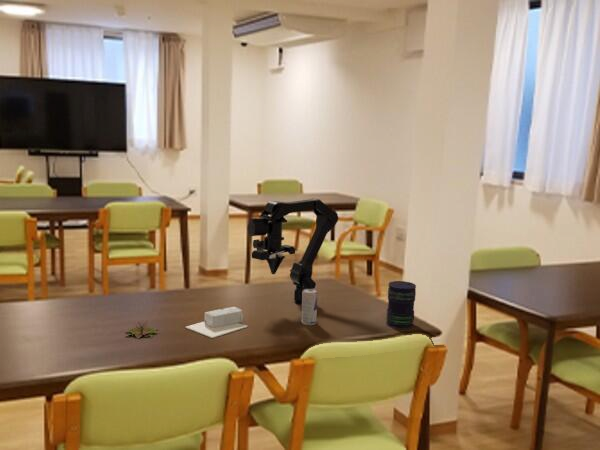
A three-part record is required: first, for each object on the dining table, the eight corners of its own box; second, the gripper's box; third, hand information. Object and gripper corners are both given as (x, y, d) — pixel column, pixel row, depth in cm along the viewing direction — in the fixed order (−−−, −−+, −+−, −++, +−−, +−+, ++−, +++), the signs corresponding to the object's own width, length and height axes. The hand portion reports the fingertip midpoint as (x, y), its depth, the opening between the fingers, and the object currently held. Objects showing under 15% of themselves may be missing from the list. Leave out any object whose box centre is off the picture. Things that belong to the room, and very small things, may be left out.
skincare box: (243, 310, 213) (213, 315, 205) (242, 322, 213) (212, 328, 206) (233, 306, 217) (204, 311, 210) (233, 318, 218) (203, 323, 210)
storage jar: (396, 330, 211) (399, 289, 209) (380, 322, 220) (382, 282, 217) (419, 327, 216) (422, 286, 213) (402, 318, 224) (405, 280, 222)
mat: (220, 317, 218) (220, 316, 218) (247, 327, 209) (247, 326, 209) (185, 327, 207) (185, 326, 207) (212, 338, 198) (212, 337, 197)
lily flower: (129, 327, 206) (129, 314, 206) (164, 328, 206) (164, 316, 206) (118, 340, 195) (118, 326, 194) (155, 341, 195) (155, 328, 194)
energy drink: (318, 321, 217) (319, 289, 215) (313, 326, 212) (314, 293, 210) (304, 319, 219) (305, 288, 217) (299, 324, 214) (300, 291, 212)
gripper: (276, 228, 241) (275, 266, 244) (241, 234, 227) (241, 274, 230) (296, 232, 234) (295, 271, 236) (262, 238, 220) (261, 279, 222)
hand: (273, 274), depth 231 cm, fingers closed
